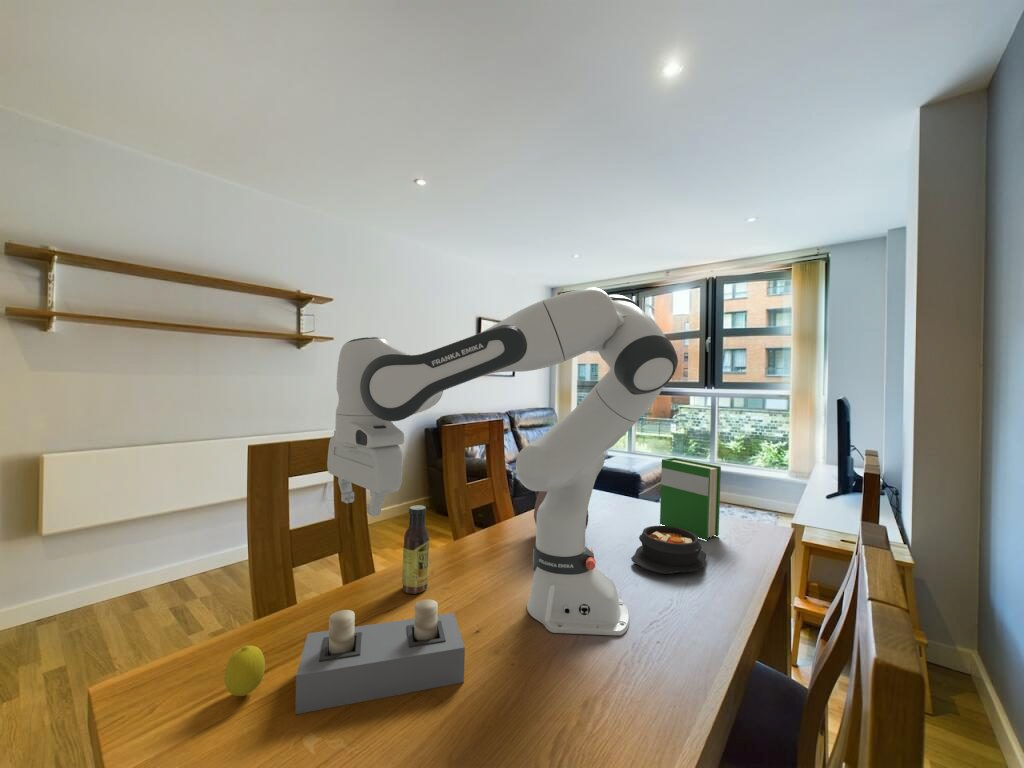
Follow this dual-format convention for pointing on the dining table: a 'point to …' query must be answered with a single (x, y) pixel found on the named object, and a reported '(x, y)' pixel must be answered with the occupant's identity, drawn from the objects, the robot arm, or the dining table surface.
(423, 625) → the peg inner
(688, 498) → the hardback book
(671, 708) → the dining table surface
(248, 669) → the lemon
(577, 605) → the robot arm
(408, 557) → the sauce bottle
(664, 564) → the casserole
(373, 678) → the peg block
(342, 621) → the peg outer
